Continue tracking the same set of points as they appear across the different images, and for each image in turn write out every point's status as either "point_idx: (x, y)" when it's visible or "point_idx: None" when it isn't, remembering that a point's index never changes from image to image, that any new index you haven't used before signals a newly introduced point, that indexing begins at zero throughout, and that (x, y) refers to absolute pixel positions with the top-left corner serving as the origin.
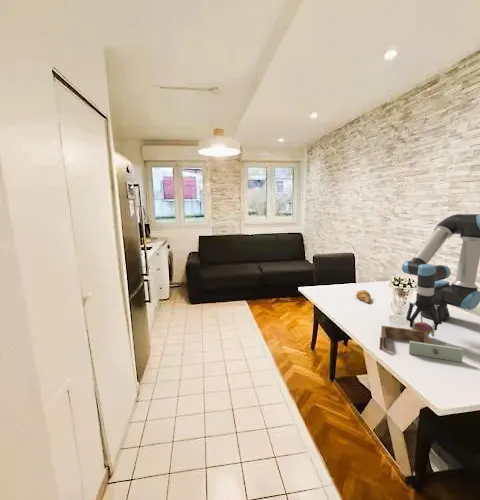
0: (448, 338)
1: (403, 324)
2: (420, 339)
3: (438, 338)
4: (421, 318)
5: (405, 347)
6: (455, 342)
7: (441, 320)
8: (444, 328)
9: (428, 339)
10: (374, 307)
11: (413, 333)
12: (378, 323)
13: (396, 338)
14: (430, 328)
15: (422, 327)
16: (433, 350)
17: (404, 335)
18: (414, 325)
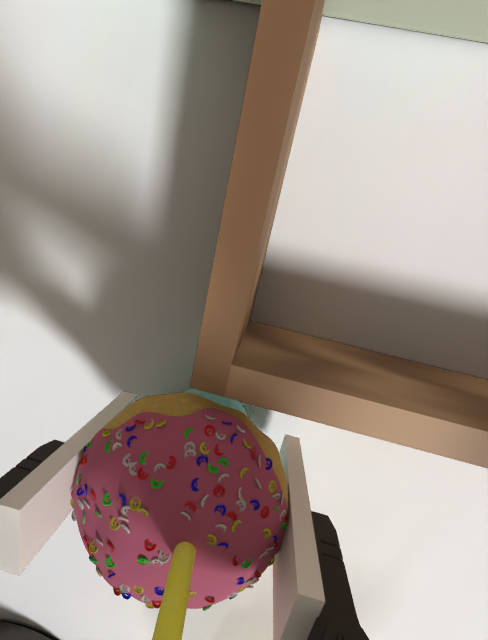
0: (31, 409)
1: (264, 603)
2: (270, 334)
3: (98, 405)
4: None
5: (482, 195)
6: (3, 351)
7: (3, 626)
8: None
9: (287, 44)
10: None
11: (354, 377)
12: (467, 632)
13: (475, 377)
14: (102, 450)
15: (209, 467)
16: None
17: (432, 381)
18: (295, 535)
